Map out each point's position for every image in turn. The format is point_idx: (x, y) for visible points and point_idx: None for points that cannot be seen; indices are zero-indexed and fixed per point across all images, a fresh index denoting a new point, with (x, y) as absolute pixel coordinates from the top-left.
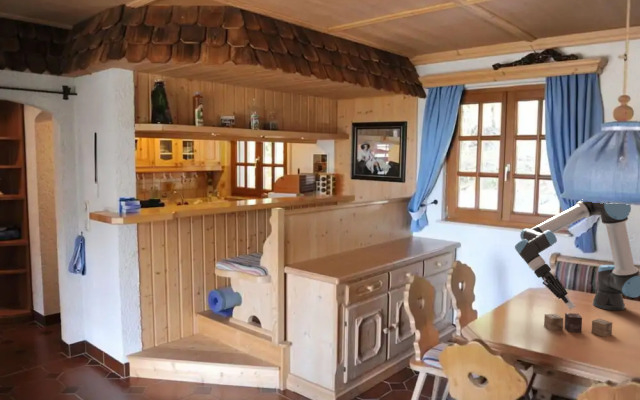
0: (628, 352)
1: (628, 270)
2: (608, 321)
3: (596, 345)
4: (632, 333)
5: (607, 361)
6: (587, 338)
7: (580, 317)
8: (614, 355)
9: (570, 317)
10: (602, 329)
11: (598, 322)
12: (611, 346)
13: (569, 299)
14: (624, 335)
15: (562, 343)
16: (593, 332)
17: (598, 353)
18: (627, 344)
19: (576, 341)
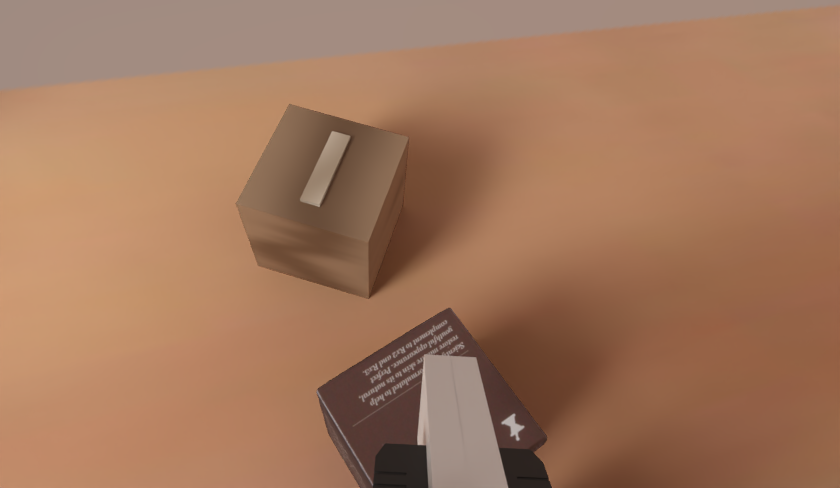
0: (581, 54)
1: None
2: (286, 130)
3: (633, 205)
4: (171, 82)
5: (830, 109)
6: (541, 287)
7: (459, 322)
8: (703, 98)
9: (535, 422)
10: (399, 184)
11: (386, 186)
12: (564, 134)
13: (467, 435)
14: (258, 112)
15: (837, 407)
16: (373, 279)
17: (763, 166)
18: (441, 75)
19: (685, 333)
